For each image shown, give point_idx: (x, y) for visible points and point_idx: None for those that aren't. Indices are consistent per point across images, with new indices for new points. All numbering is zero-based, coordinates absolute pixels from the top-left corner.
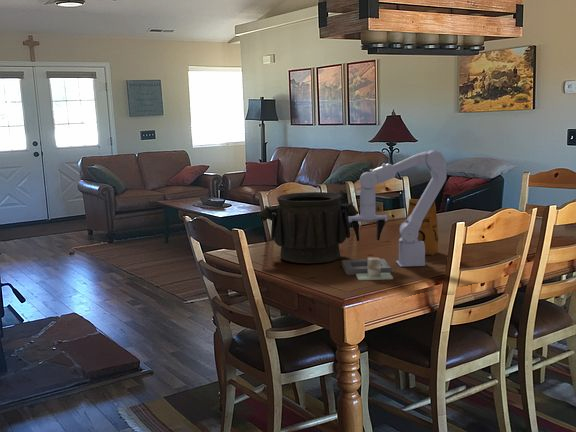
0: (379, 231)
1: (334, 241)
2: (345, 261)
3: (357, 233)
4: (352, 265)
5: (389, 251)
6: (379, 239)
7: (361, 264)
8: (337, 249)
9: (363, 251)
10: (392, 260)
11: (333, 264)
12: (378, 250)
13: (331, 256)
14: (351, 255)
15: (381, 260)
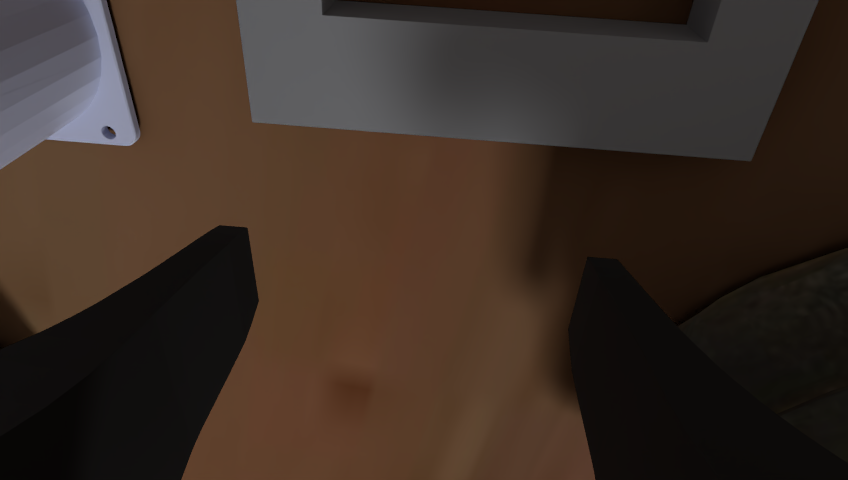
0: (126, 315)
1: (828, 448)
2: (740, 92)
3: (673, 345)
4: (658, 28)
5: (198, 439)
6: (209, 233)
7: (546, 22)
8: None
9: (382, 475)
10: (178, 209)
11: (790, 192)
12: (274, 473)
13: (789, 307)
14: (498, 414)
15: (286, 43)
